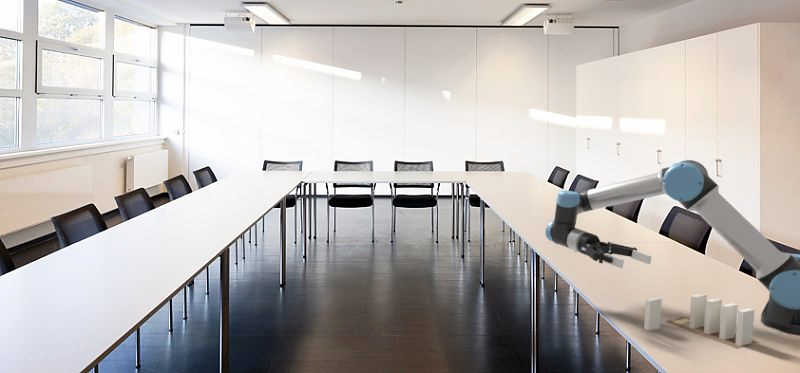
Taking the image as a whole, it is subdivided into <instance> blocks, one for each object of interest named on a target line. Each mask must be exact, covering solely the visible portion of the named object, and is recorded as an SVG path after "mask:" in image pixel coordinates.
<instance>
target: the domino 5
mask: <svg viewBox="0 0 800 373" xmlns="http://www.w3.org/2000/svg"><path fill="white" fill-rule="evenodd" d="M754 318H755V309H753V308H750V307H748V308H744V309H739V310H737V320H736V332H735V334H736V343H735V344H737V345H739V346H743V345H746V344H750V343H752V340H753V332H754Z"/></svg>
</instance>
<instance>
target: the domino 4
mask: <svg viewBox="0 0 800 373" xmlns="http://www.w3.org/2000/svg"><path fill="white" fill-rule="evenodd" d="M738 306H739V305H738V304H737V303H734V302H731V303H727V304H721V317H720V334H719V338H720V339H723V340H726V339H730V338H733V337H735V334H736V331H737V319H738Z"/></svg>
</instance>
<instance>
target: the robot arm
mask: <svg viewBox="0 0 800 373" xmlns="http://www.w3.org/2000/svg"><path fill="white" fill-rule="evenodd" d="M719 187H720V186H719V185H718V184H717V183H716V182H715V180H713V179H712V178H711V177H710V175H709V172H708V170H707V168H706V167H705V166H704V164H702V163H700V162H699V161H695V160H692V159H691V160H690V159H686V160H683V161H682V160H681V161H679V162H676V163H674V164H672V165H671V166H668V167H665V168H661V169H660V171H659V172H655V173H651V174H648V175H644V176H640V177H635V178H631V179H627V180H624V181H620V182H616V183H612V184H607V185H602V186H599V187H596V188H591V189H588V190H583V191H573V190H560V191H559V192H558V193H557V198H556V205H555V213H554V219H553V220H552V221H550V222H548V224H547V227H546V228H545V232H544V233H545V237H546V238H547V240H549V241H551V242H553V243H554V244H556V245H559V246H562V247H565V248H567V249H570V250H573V251H574V253H580V254H583V255H584V256H587V257H589V258H590V259H591V260H593V261H594V262H598V263H599V264H604V263H606V264H609V265H611V266H614V267H616V268H619V269H623V267H624V262H625V259H623V258H621V257H618V256H617V255H619V256H625V257H630V258H631V259H633V260H636V261H639V262H642V263H643V264H644V263H645V264H646V265H651V261H652V255H649V254H648V253H647V254H646V253H644V252H641V251H638V248H636V247H635V246H633V247H631V246H627V245H622V244H617V243H614V242H611V241H607V242H605V241H601V240H600V238H599V236H598V235H597V234H594V233H591V232H588V231H586V230H583V229H580V228H577V227H576V224H577V218H578V215H579V214H581V213H587V212H590V211H594V210H598V209H602V208H607V207H611V206H616V205H622V204H624V203H631V202H635V201H639V200H644V199H647V198H653V197H657V196H660V195H667V196H668V197H670V198H671V199H672V200H675V201H677V202H678V203H680V205H682V206H683V207H684V209H685V210H687V212H689V211H690V212H696V213H697V214H698V215H699V216H700V217H701V218H702V219H703V220H704V221H705V222H706V223H707V224H708V225H709V226H710V227H711V228H712V229H713V230H714V231H715V232H716V233H717V234H719V236H720V237H722V238H723V240H724V241H725V242H726V243H728V244H729V246H730V247H732V249H734V251H736V252H737V254H739V256H741V257H742V259H744V260H745V262H747V263H748V264H749V265H750V267H752V269H754V270H755V275H756V276H755V278H756V279H757V280H758V282H760V283H761V285H763V287H765V289H767V291H769V294H768V295H769V296H768V300H767V302H766V304H765V306H764V307H763V310H762V312H761V315H760V322H761V323H762V324H763V325H764V326H766V327H769V328H771V329H774V330H777V331H781V332H786V333H789V334H790V333H792V334H798V335H800V254H797V253H789V252H781V251H780V250H779V249H778V248H777V246H775V245H774V244H773V243H771V241H770V240H768V238H766V237H765V236H764V235H763V233H761V232H760V230H758V229H757V228H756V227H755V226H754V225H753V224H752V223H751V222H750V221H749V220H747V218H745V217H744V216H743V215H742V213H740V212H739V211H738V210H737V209H736V208H735V207H734V206H733V205H732V204H731V203H730V202H729V201H728V200H726V198H724V196H722V194H720V192H719ZM615 255H616V256H615Z"/></svg>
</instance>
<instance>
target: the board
mask: <svg viewBox="0 0 800 373" xmlns="http://www.w3.org/2000/svg"><path fill="white" fill-rule="evenodd" d="M665 322H666V323H668V324H671V325H674V326H677V327H678V328H682V329H683V330H684V329H685V330H688V331H689V332H693V333H695V334H698V335H701V336H703V337H706V338H708V339H711V340H714V341H716V342H719V343H722V344H724V345H727V346H729V347H732V348H735V349H737V350H738V349H740V348H745V347H748V346H753V345H755V344H760V342H759V341H756V340H754V339H752V343H750V344H746V345H743V346H739V345H737V344H735V343H736V333H735V337H733V338H730V339H726V340H723V339H720V338H719V334H720V330H719V332H715V333H711V334H707V333H704V326H702V327H698V328H691V327H689V322H690V316H682V317H677V318H673V319H670V320H665Z"/></svg>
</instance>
